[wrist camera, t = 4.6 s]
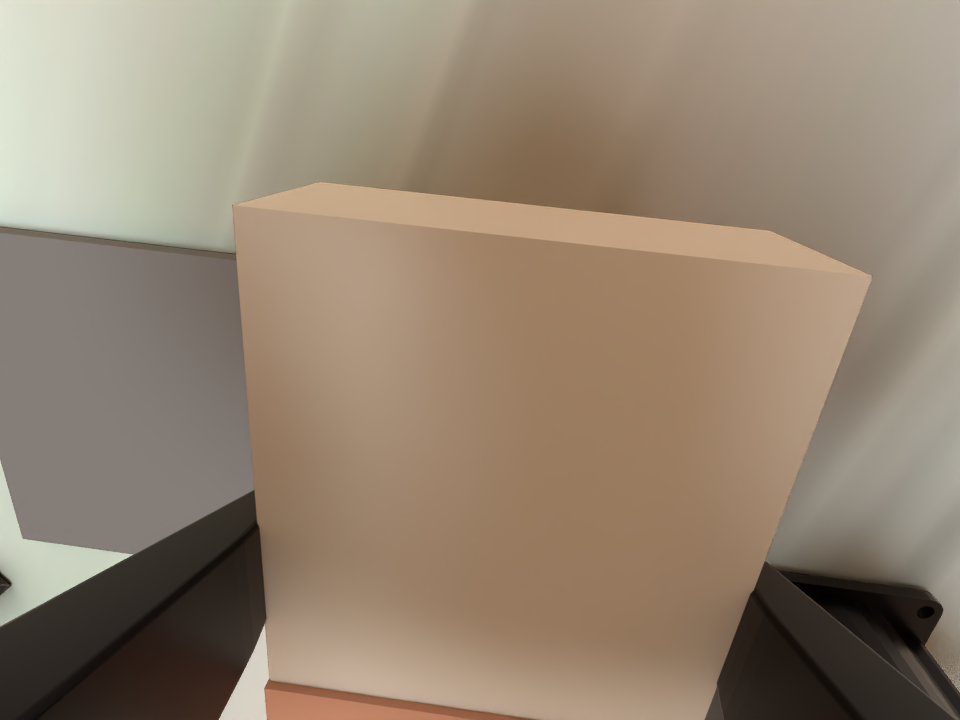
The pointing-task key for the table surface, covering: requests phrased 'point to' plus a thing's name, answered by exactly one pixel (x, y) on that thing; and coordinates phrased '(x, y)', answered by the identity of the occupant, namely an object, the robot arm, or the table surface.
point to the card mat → (119, 388)
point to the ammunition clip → (3, 585)
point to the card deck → (519, 448)
